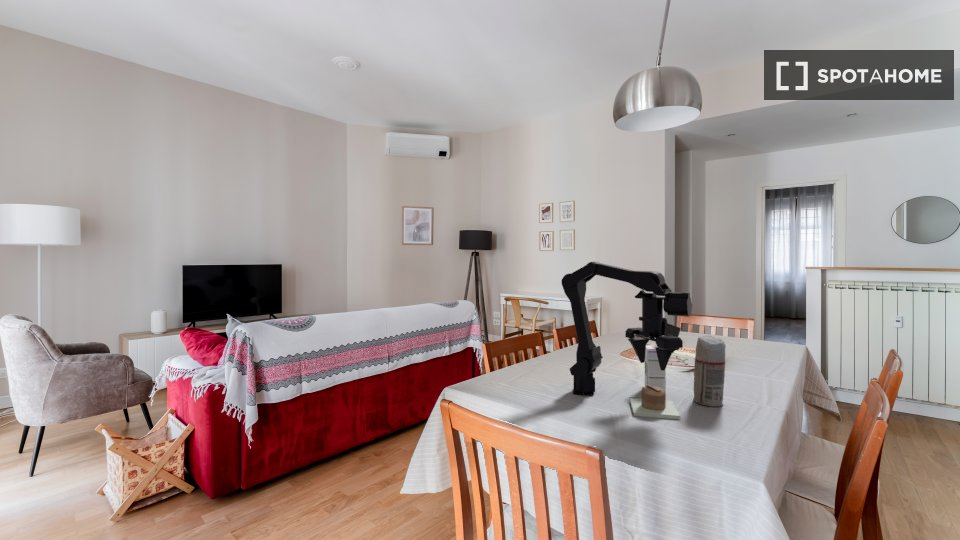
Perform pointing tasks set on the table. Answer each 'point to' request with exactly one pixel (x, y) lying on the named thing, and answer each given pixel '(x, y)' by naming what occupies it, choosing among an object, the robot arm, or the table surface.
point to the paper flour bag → (709, 371)
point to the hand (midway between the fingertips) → (652, 366)
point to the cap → (653, 398)
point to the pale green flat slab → (668, 413)
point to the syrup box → (653, 369)
